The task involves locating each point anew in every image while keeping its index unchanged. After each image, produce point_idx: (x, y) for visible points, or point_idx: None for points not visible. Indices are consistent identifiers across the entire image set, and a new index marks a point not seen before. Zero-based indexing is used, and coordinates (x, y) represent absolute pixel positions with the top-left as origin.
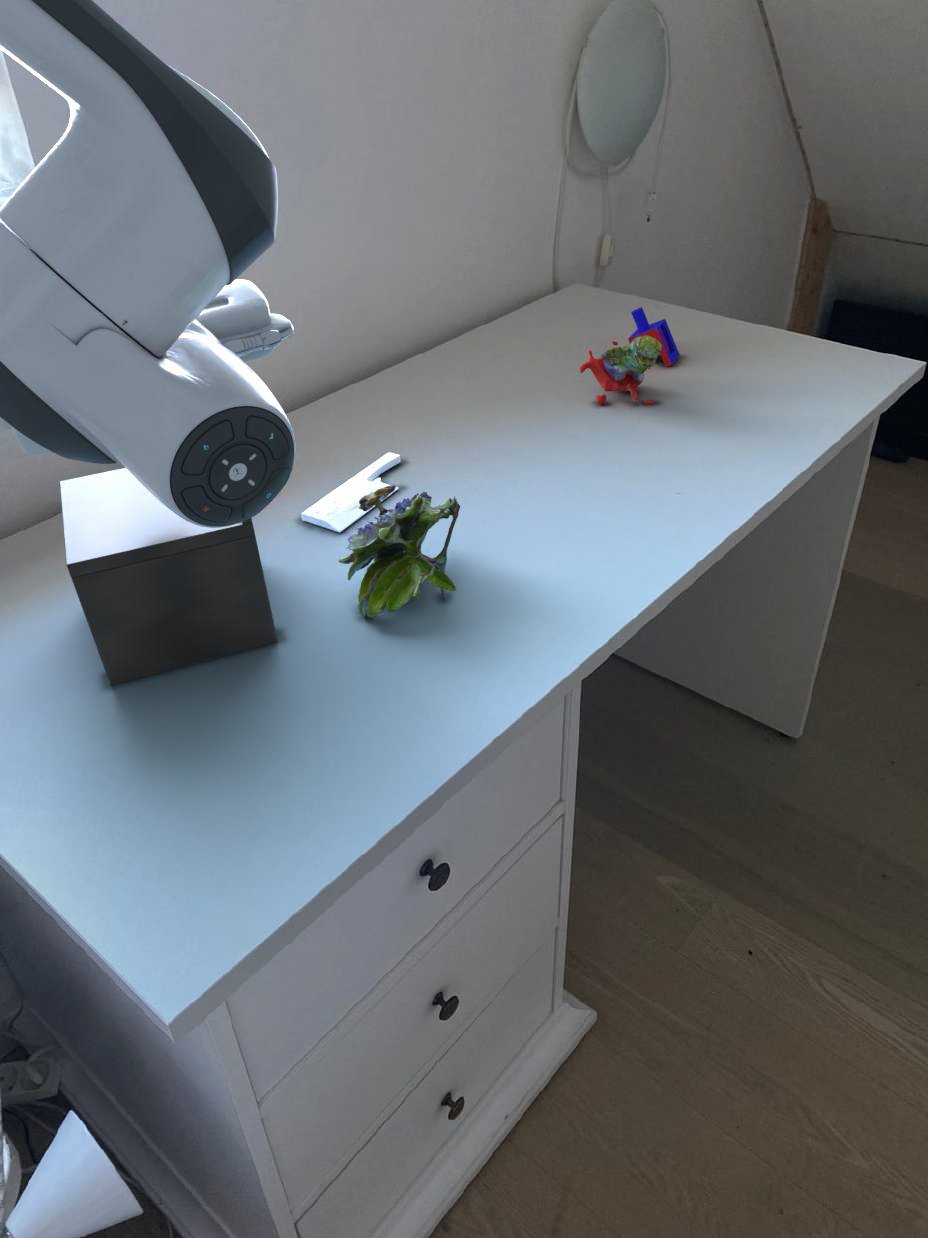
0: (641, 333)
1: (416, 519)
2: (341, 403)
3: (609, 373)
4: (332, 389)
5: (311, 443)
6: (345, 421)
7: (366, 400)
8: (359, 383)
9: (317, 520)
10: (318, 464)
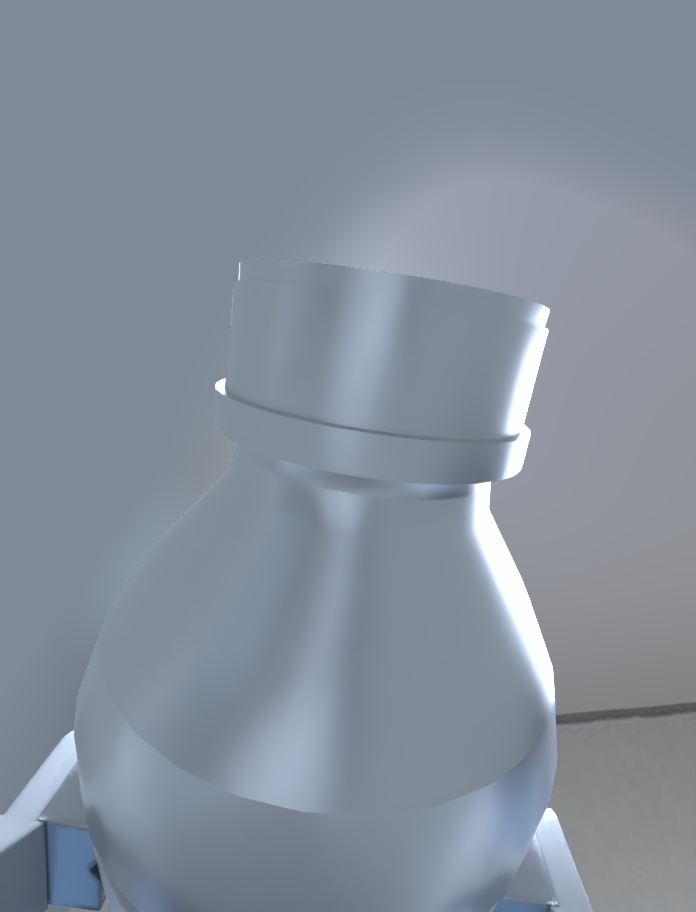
0: None
1: None
2: (625, 747)
3: None
4: (611, 711)
5: (583, 814)
6: (634, 792)
7: (662, 762)
8: (648, 720)
9: None
10: (594, 884)
